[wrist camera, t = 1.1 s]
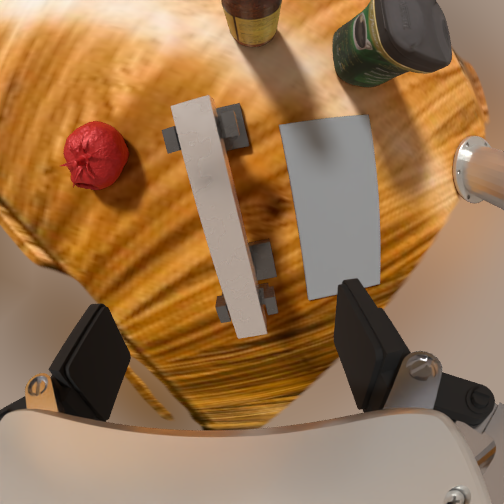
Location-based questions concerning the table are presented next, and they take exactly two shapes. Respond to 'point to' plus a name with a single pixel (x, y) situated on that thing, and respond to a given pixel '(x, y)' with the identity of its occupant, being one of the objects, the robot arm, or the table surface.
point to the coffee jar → (392, 42)
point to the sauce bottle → (252, 20)
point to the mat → (334, 200)
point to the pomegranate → (95, 155)
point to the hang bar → (220, 212)
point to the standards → (259, 250)
